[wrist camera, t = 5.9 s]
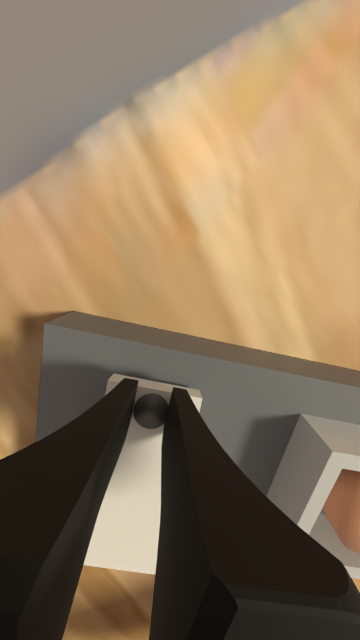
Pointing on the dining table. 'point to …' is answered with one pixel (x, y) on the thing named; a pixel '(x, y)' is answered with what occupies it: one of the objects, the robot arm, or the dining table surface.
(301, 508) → the grey board with tray
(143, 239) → the dining table surface
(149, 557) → the rocker switch
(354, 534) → the button
